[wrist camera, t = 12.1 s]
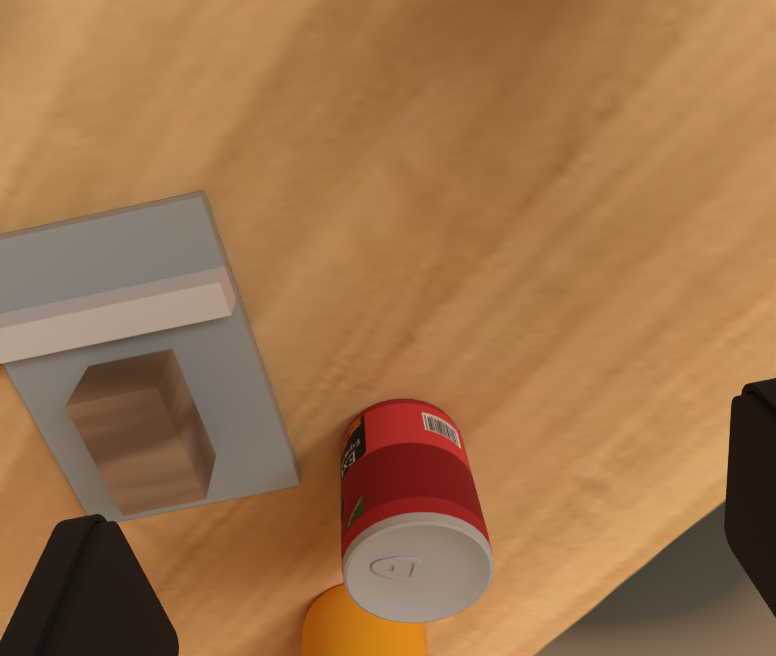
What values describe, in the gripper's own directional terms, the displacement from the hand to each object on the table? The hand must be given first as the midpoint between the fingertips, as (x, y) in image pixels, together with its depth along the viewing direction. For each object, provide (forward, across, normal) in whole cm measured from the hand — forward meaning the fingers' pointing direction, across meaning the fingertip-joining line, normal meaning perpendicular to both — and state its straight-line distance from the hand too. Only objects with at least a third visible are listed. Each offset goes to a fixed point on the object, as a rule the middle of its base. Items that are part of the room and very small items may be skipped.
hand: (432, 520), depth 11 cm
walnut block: (+25, +16, +10) cm, 32 cm away
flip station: (+28, +16, +12) cm, 35 cm away
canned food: (+28, +2, +21) cm, 35 cm away
